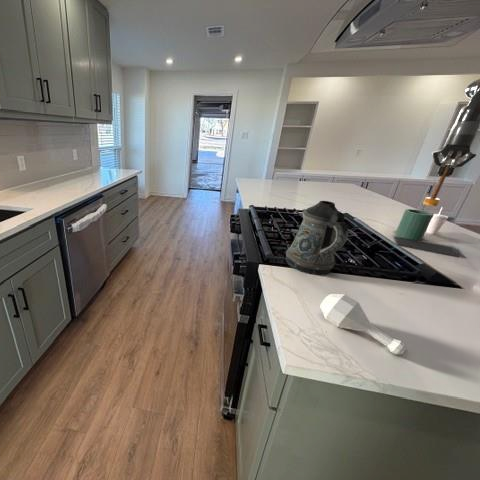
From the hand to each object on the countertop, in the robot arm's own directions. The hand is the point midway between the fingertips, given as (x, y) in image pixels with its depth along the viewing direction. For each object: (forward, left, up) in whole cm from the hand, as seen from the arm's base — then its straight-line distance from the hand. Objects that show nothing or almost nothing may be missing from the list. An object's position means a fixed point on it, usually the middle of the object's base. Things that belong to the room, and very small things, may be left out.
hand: (443, 175), depth 111 cm
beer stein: (+38, +62, -31) cm, 79 cm away
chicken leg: (+24, +95, -31) cm, 102 cm away
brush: (0, 0, -13) cm, 13 cm away
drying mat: (-2, +8, -31) cm, 32 cm away
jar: (+2, -4, -31) cm, 31 cm away
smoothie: (-9, -19, -31) cm, 38 cm away
